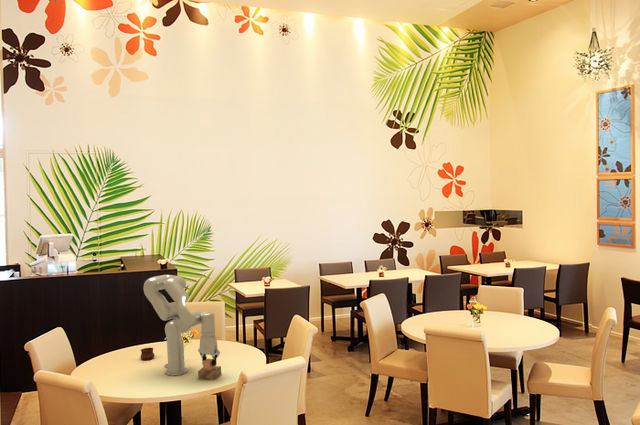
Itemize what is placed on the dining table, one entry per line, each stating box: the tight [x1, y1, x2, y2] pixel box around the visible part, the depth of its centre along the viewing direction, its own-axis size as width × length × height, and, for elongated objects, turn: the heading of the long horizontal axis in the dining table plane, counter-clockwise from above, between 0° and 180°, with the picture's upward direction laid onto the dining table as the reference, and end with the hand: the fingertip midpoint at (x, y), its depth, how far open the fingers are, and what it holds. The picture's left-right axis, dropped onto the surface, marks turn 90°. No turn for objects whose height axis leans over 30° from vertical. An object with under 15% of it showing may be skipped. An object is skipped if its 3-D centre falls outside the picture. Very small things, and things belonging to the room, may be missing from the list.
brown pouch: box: [140, 347, 155, 362], centre depth 342 cm, size 18×18×7 cm
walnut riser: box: [197, 365, 222, 381], centre depth 302 cm, size 10×10×5 cm
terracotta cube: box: [202, 358, 217, 370], centre depth 302 cm, size 5×5×5 cm
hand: (209, 364), depth 302 cm, fingers open, 6 cm apart
